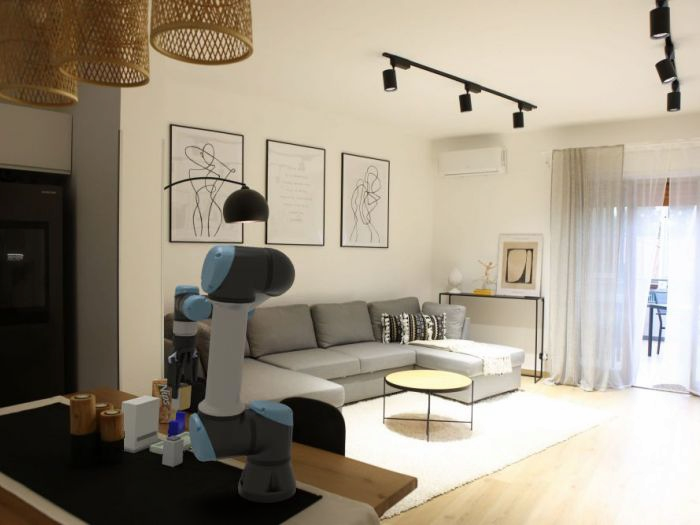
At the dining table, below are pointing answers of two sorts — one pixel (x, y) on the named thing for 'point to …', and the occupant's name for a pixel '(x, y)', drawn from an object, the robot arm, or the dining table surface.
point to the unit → (140, 423)
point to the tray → (186, 436)
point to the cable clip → (177, 424)
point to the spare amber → (184, 396)
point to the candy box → (163, 400)
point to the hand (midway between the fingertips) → (181, 406)
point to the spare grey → (172, 451)
